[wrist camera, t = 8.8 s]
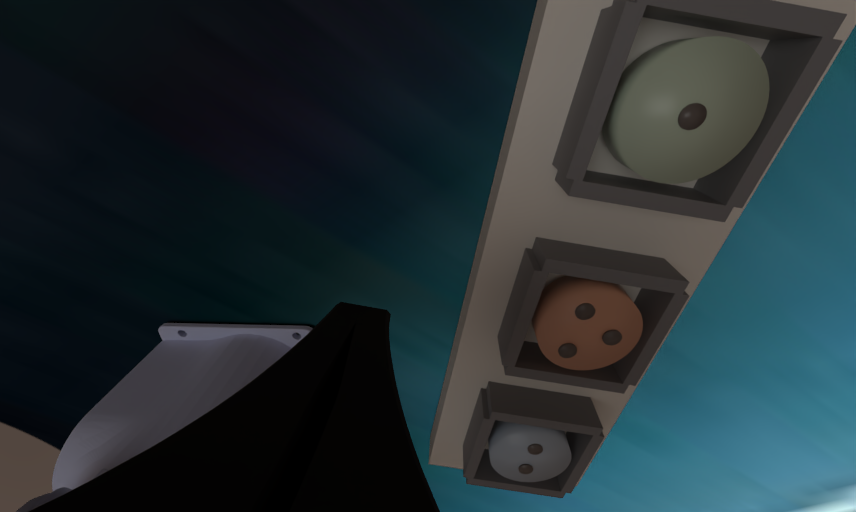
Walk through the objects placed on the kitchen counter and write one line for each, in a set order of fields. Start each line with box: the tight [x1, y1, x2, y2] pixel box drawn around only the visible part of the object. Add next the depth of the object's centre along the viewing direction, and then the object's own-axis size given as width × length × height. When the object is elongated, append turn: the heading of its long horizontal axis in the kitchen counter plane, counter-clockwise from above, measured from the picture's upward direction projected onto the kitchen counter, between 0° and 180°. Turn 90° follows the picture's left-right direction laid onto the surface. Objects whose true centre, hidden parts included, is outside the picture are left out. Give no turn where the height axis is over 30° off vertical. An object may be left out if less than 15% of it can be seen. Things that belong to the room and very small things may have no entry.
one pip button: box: [602, 36, 770, 184], centre depth 12 cm, size 4×4×2 cm
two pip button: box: [488, 420, 571, 482], centre depth 21 cm, size 4×4×2 cm
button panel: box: [429, 0, 856, 498], centre depth 18 cm, size 28×10×4 cm, turn 171°
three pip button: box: [531, 276, 643, 370], centre depth 17 cm, size 4×4×2 cm
